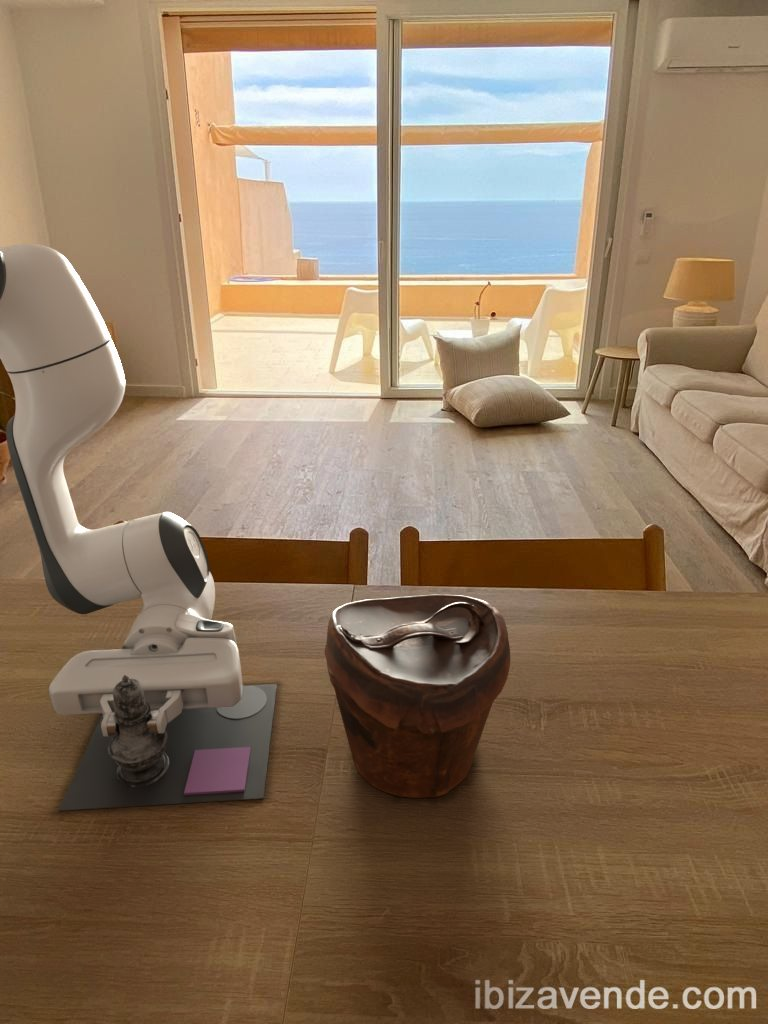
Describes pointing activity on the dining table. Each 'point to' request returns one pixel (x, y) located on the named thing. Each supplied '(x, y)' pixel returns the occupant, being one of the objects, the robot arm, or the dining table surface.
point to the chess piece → (136, 738)
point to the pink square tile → (218, 771)
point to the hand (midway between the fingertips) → (132, 730)
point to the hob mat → (182, 756)
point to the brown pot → (416, 686)
